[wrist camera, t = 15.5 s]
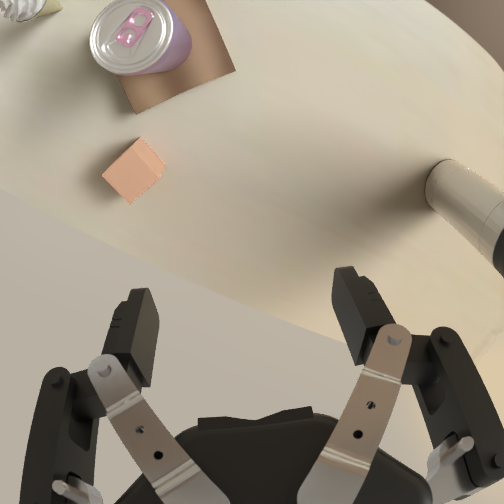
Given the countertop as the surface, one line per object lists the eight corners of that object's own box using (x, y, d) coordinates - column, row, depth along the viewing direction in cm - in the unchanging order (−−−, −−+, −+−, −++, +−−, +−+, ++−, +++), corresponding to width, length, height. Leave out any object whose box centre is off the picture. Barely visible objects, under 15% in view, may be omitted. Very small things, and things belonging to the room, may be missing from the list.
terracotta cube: (140, 136, 35) (130, 147, 31) (165, 164, 38) (159, 178, 33) (113, 161, 36) (101, 175, 32) (138, 188, 39) (129, 204, 35)
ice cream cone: (61, -14, 21) (-5, -35, 8) (85, -1, 23) (22, -23, 11) (38, 17, 23) (-34, 12, 10) (61, 32, 25) (-9, 28, 13)
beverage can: (203, 37, 27) (195, 15, 14) (171, 80, 29) (140, 91, 17) (159, 12, 24) (120, -21, 12) (128, 56, 27) (70, 54, 14)
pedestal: (197, -13, 25) (196, -19, 23) (234, 70, 32) (235, 70, 29) (104, 31, 26) (96, 29, 24) (141, 111, 33) (136, 114, 31)
